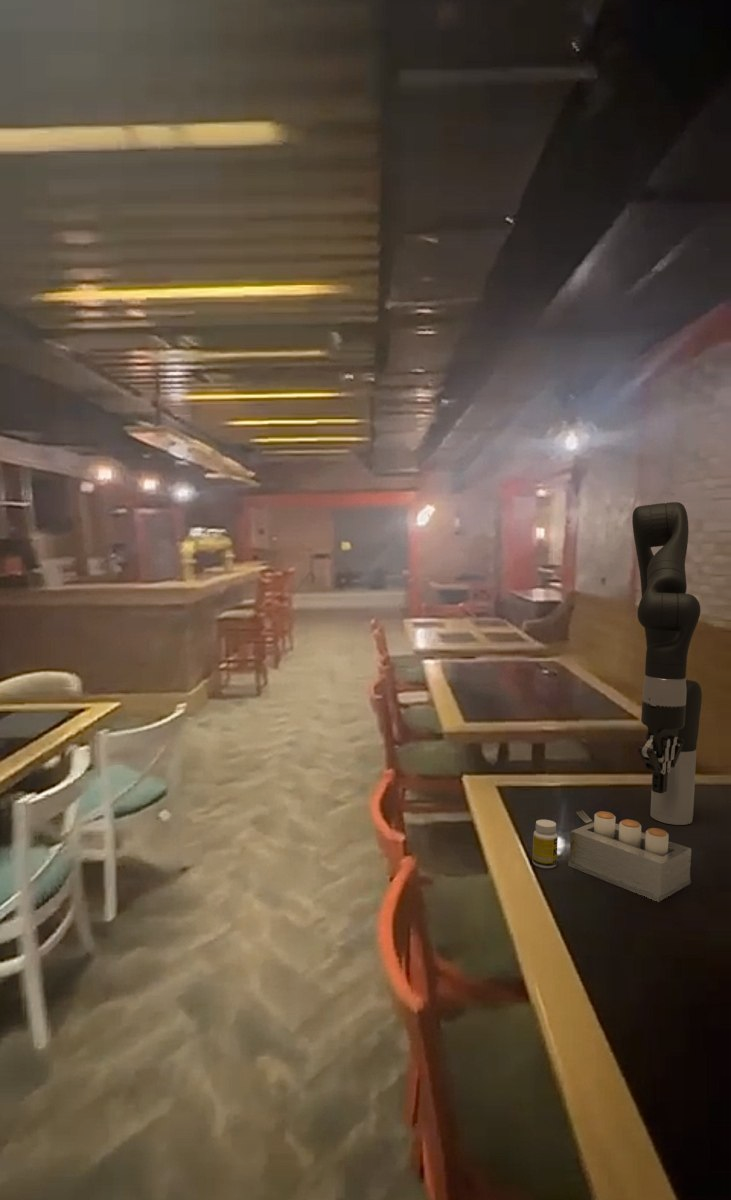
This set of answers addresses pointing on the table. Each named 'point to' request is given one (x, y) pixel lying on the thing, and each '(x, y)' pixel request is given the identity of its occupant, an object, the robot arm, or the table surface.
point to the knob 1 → (605, 824)
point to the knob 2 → (630, 832)
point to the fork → (585, 817)
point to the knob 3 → (657, 841)
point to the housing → (630, 863)
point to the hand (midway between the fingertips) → (659, 791)
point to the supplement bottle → (545, 844)
